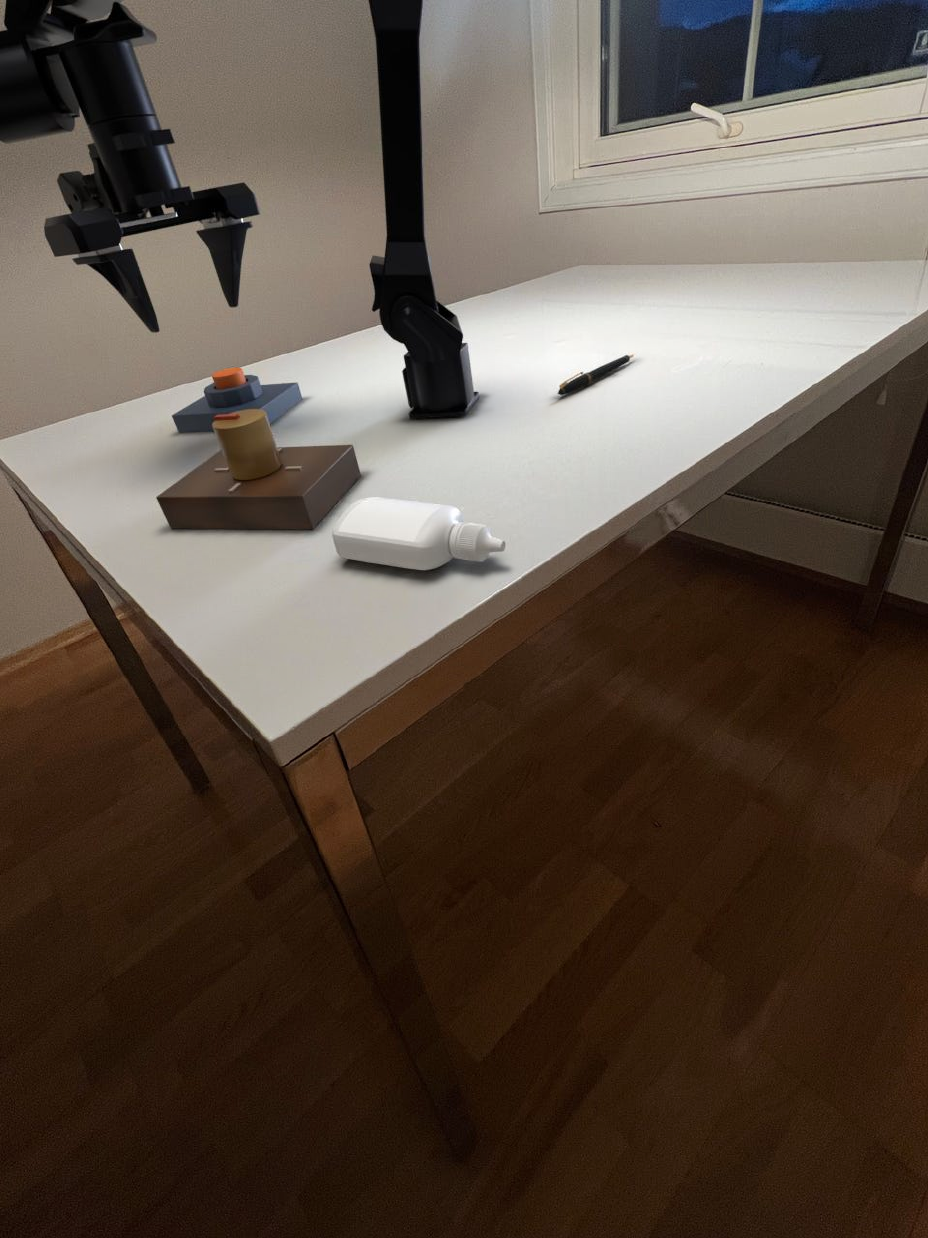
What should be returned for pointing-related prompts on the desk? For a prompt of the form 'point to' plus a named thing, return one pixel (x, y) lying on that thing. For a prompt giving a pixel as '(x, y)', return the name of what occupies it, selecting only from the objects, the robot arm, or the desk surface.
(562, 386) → the fountain pen
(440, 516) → the eye dropper bottle
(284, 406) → the button box
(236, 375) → the orange button
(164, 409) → the desk surface
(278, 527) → the knob plate
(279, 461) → the brass knob
